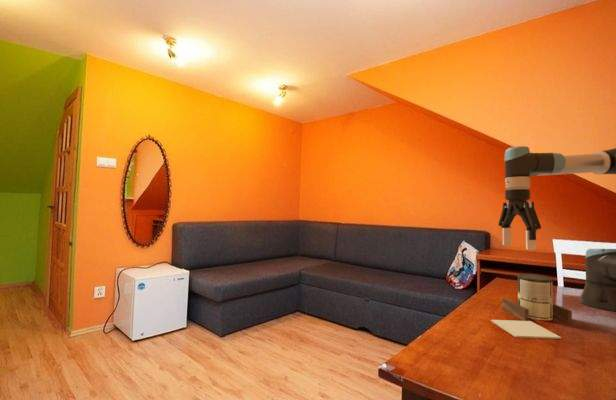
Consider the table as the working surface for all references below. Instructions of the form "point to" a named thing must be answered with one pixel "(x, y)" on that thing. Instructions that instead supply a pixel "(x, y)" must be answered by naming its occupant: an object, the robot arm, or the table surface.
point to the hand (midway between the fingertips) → (518, 247)
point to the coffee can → (536, 295)
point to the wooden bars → (524, 313)
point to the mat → (525, 329)
